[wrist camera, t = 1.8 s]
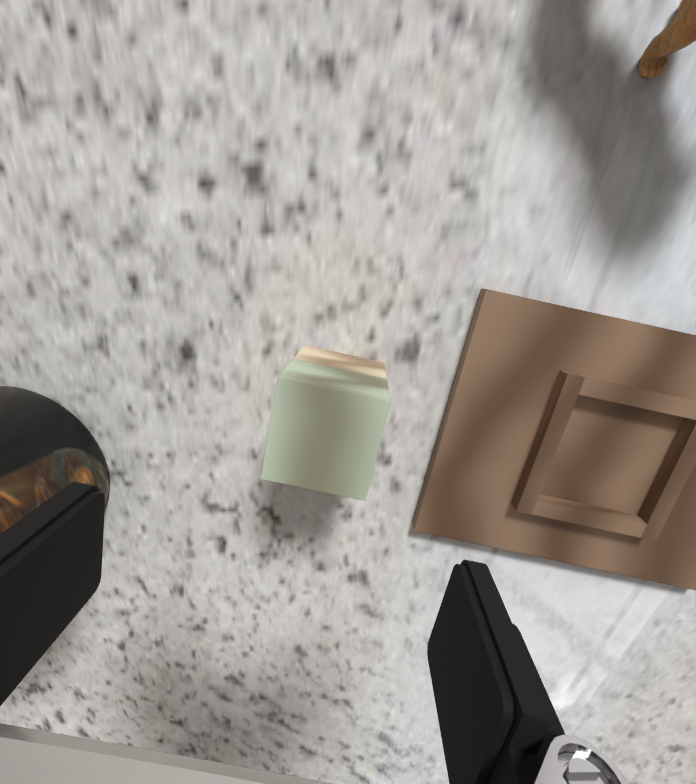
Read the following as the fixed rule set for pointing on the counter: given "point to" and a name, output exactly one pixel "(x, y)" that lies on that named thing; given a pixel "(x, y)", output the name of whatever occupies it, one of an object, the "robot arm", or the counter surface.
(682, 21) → the lion figurine
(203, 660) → the counter surface
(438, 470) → the walnut socket board
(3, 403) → the jar
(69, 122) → the counter surface
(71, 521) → the robot arm
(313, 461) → the two-tone block
